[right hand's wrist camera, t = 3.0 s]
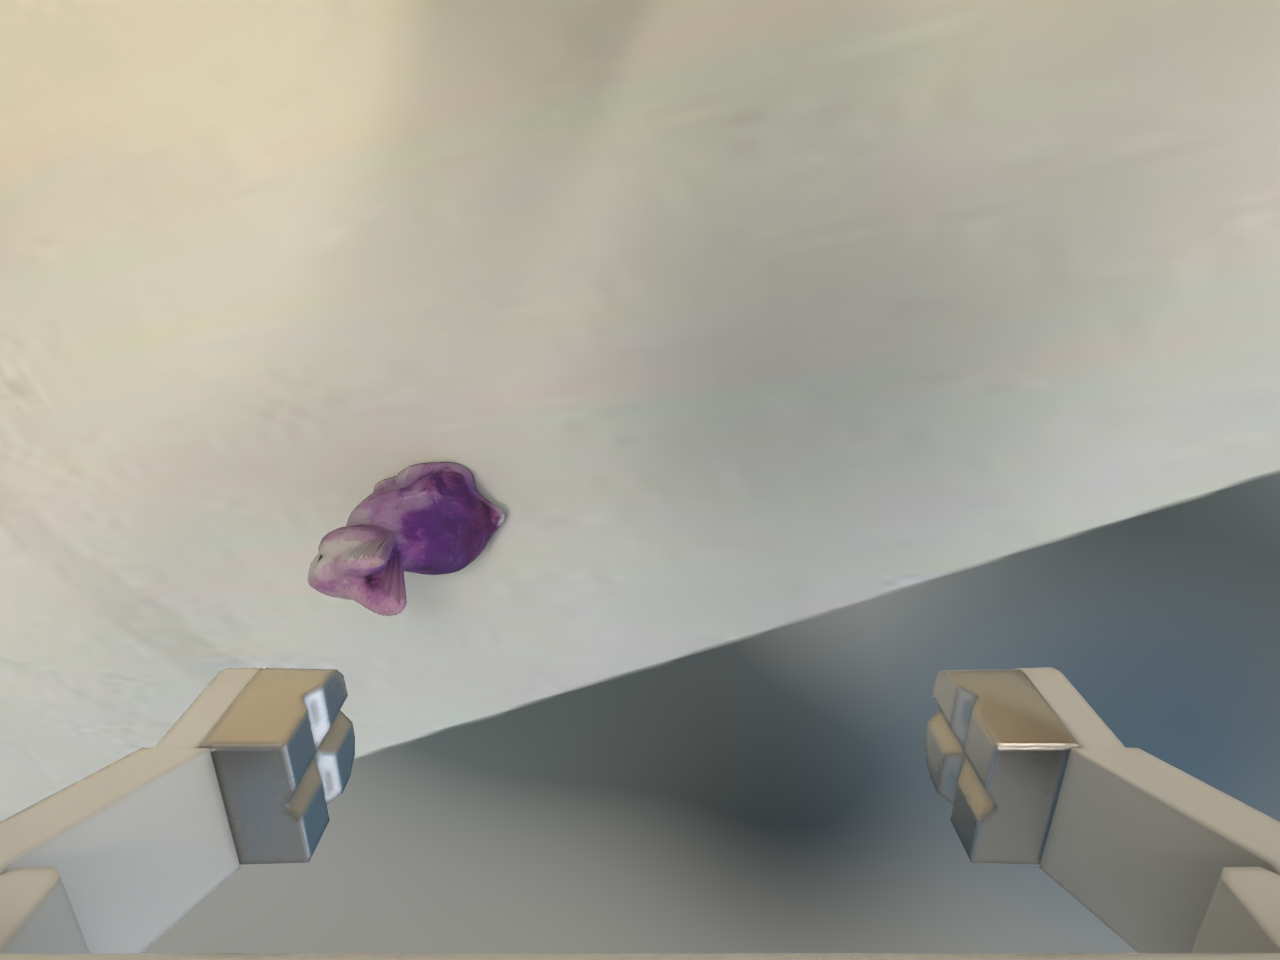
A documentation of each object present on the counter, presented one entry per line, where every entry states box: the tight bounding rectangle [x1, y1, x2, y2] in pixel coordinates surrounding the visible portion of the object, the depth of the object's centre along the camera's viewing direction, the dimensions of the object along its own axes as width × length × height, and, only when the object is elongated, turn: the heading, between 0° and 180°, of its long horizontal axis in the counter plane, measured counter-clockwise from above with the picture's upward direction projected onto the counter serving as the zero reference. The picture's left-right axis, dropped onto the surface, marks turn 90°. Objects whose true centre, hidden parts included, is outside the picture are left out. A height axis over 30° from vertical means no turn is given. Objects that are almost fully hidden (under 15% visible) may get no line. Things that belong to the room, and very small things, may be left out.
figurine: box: [308, 462, 505, 616], centre depth 55 cm, size 9×10×15 cm
